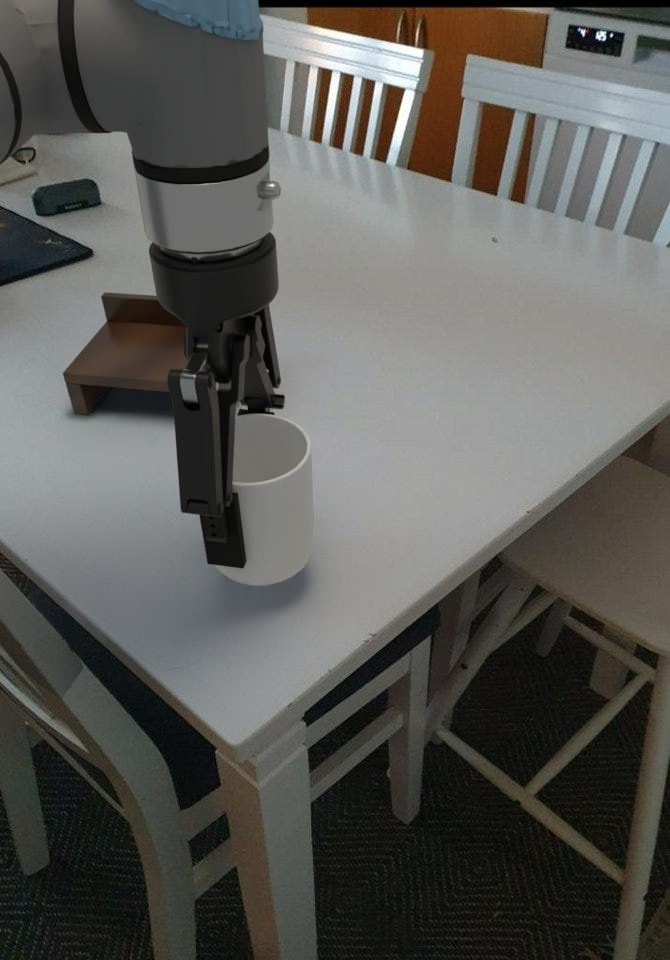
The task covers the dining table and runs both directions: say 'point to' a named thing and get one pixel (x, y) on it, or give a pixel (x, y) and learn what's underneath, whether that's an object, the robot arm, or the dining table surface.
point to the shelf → (128, 351)
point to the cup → (272, 498)
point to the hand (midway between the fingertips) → (245, 518)
